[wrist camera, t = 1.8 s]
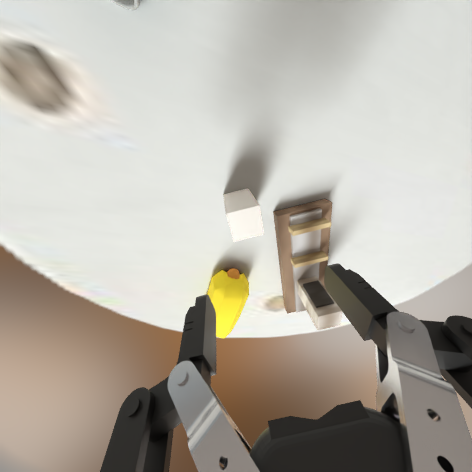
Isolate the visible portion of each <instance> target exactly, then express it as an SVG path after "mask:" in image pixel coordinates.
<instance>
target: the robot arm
mask: <svg viewBox="0 0 472 472" xmlns="http://www.w3.org/2000/svg"><path fill="white" fill-rule="evenodd" d="M324 285H325V288H326V290H327V291H328V293H329V294H330V296H331V297H332V298H333V300H334V301H335V302H336V304H337V305H338V306H339V308H340V309H341V310H342V312H343V313H344V314H345V316H346V317H347V318H348V320H349V321H350V322H351V324H352V325H353V326H354V328H355V329H356V330H357V332H358V333H359V334H360V336H361V337H362V338H363V340H364V341H366V340H370V339H372V340H373V341H374V343H375V344H376V345H375V353H376V368H377V393H376V410H374V409H370V408H367V407H363V405H362V403H361V401H360V400H359V401H355V402H350V403H346V404H341V405H337V406H336V407H334V408H333V409H332V410H330V411H329V412H328V413H326V414H325V415H323V416H322V417H321V418H319V419H318V420H313V419H306V418H299V417H293V416H289V417H285V418H280V419H275V420H271V421H268V424H269V427H268V428H267V429H266V430H264V431H263V432H262V433H261V435H260V436H259V437H258V438H257V440H256V441H255V443H254V445H253V447H252V449H251V448H250V446H249V444H248V443H247V442H246V440H245V438H244V437H243V435H242V434H241V432H240V431H239V429H238V428H237V426H236V425H235V423H234V422H233V420H232V419H231V418H230V416H229V414H228V413H227V411H226V410H225V408H224V407H223V405H222V403H221V402H220V400H219V399H218V397H217V396H216V394H215V392H214V391H213V389H212V388H211V386H210V383H211V380H210V379H211V376H212V375H216V312H215V308H214V306H213V304H212V302H211V299H210V297H209V295H208V294H207V295H203V296H199V297H197V298H196V303H195V306H193V307H190V308H189V310H188V312H187V314H186V317H185V323H184V324H185V325H184V329H183V335H182V341H181V347H180V353H179V358H178V362H177V365H176V366H175V368H174V369H173V370H172V372H171V374H170V375H169V376H168V377H167V378H166V379H165V380H163V381H162V382H160V383H159V384H157V385H156V386H154V387H152V388H151V389H149V390H148V389H146V388H138V389H136V390H134V391H133V392H132V393H131V394H130V395H129V396H128V397H127V398H126V400H125V401H124V403H123V404H122V406H121V408H120V411H119V414H118V417H117V420H116V423H115V426H114V429H113V433H112V436H111V439H110V442H109V445H108V449H107V451H106V455H105V458H104V461H103V464H102V467H101V470H100V472H169V466H170V457H171V447H172V438H173V429H174V428H175V427H176V426H178V425H179V424H180V423H183V426H184V428H185V430H186V433H187V436H188V446H189V450H190V452H191V455H192V457H193V460H194V462H195V464H196V467H197V469H198V472H472V439H471V436H470V433H469V430H468V427H467V424H466V421H465V418H464V415H463V412H462V409H461V406H460V403H459V400H458V397H457V394H456V392H455V390H456V391H457V393H458V394H459V395H460V396H461V397H462V398H463V399H464V400H465V401H466V403H468V405H469V406H470V407H471V408H472V319H471V318H467V317H463V316H450V317H448V318H447V320H446V321H445V322H435V321H423V320H418V319H417V318H415V317H414V316H412V315H409V314H407V313H404V312H399V311H398V310H397V309H395V308H394V307H393V306H392V305H391V304H390V303H389V302H388V301H387V300H386V299H385V298H384V297H382V296H381V295H380V294H379V293H378V292H377V291H376V290H375V289H374V288H372V287H371V285H370V284H368V283H367V282H366V281H365V280H364V279H363V278H362V277H361V276H360V275H359V274H357V273H355V272H353V271H351V270H350V269H349V270H345V269H344V268H343V267H342V266H341V265H340V264H333V265H329V266H326V267H325V276H324ZM441 375H442V376H443V377H444V378H445V379H446V380H447V381H445V380H444V379H443V378H442V376H441ZM454 389H455V390H454Z"/></svg>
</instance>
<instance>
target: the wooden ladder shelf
mask: <svg viewBox="0 0 472 472" xmlns="http://www.w3.org/2000/svg"><path fill="white" fill-rule="evenodd" d="M331 212H332V202H331V201H329V200H327V199H322V200H318V201H314V202H310V203H306V204H302V205H298V206H294V207H290V208H286V209H282V210H278V211H274V212H273V213H274V221H275V230H276V238H277V247H278V255H279V264H280V273H281V281H282V290H283V298H284V306H285V309H286V311H287V313H291V312H295V311H296V312H300V311H305V310H307V312H308V314H309V316H310V317H311V319H312V321H313V323H314V325H315V327H316V329H317V330H321V329H326V328H330V327H334V326H338V325H340V323H341V317H342V310H341V309H340V308H339V306H338V305H337V304H336V302H335V301H334V300H333V298H332V297H331V296H330V294H329V293H328V291H327V290H326V288H325V285H324V276H325V267H326V266H327V264H328V251H329V238H330V227H331Z"/></svg>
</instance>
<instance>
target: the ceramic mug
mask: <svg viewBox="0 0 472 472" xmlns="http://www.w3.org/2000/svg"><path fill="white" fill-rule="evenodd" d="M111 1H112V2H114V3H116V4H117V5H119V6H122V7H123V8H126V9H131V10H136V9H137V8H138V6H139V4H140V0H111Z"/></svg>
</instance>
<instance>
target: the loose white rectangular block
mask: <svg viewBox="0 0 472 472" xmlns="http://www.w3.org/2000/svg"><path fill="white" fill-rule="evenodd" d="M223 196H224V204H225V211H226V216H227V220H228V223H229V227H230V231H231V234H232V238H233V241H234V242H237V241H241V240H245V239H249V238H253V237H257V236H261V235H264V229H263V223H262V217H261V210H260V205H259V204H258V202H257V201H256V199H255V198H254V196H253V195H252V193H251V192H250V190H249V189H248V188H246V189H242V190H239V191H235V192H231V193H227V194H223Z"/></svg>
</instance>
